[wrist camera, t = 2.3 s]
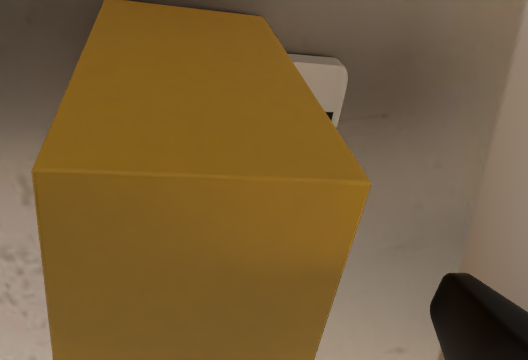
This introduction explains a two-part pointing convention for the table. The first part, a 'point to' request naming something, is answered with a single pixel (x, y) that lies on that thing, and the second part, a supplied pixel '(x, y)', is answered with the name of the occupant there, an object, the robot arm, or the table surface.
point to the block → (191, 194)
